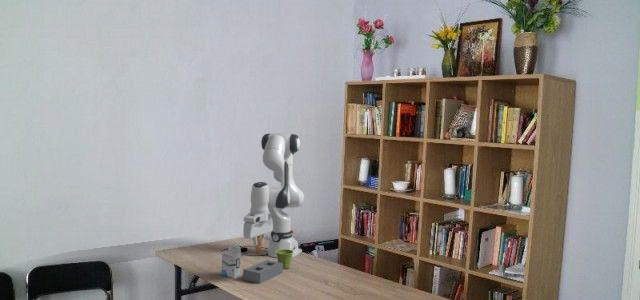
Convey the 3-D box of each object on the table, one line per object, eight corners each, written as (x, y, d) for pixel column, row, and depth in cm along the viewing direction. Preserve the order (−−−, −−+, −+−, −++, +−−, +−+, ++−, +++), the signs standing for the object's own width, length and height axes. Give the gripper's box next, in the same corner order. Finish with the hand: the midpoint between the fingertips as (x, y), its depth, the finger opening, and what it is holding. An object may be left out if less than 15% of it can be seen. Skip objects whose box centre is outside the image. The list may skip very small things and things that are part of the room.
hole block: (266, 269, 246) (266, 259, 246) (282, 272, 242) (282, 263, 241) (243, 279, 228) (243, 269, 228) (260, 283, 224) (260, 273, 224)
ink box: (220, 275, 234) (221, 246, 234) (227, 272, 239) (228, 244, 238) (234, 278, 230) (234, 248, 229) (240, 275, 235) (241, 246, 234)
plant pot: (290, 271, 245) (290, 254, 245) (273, 269, 247) (273, 252, 246) (294, 265, 254) (295, 250, 254) (278, 264, 256) (278, 248, 256)
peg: (257, 251, 232) (258, 233, 231) (262, 252, 230) (263, 234, 230) (253, 252, 229) (254, 234, 229) (259, 253, 228) (259, 235, 227)
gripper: (265, 212, 240) (265, 239, 240) (241, 218, 222) (240, 247, 222) (276, 213, 237) (275, 241, 237) (252, 219, 219) (251, 249, 219)
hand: (258, 244), depth 230 cm, fingers closed on peg, 3 cm apart
